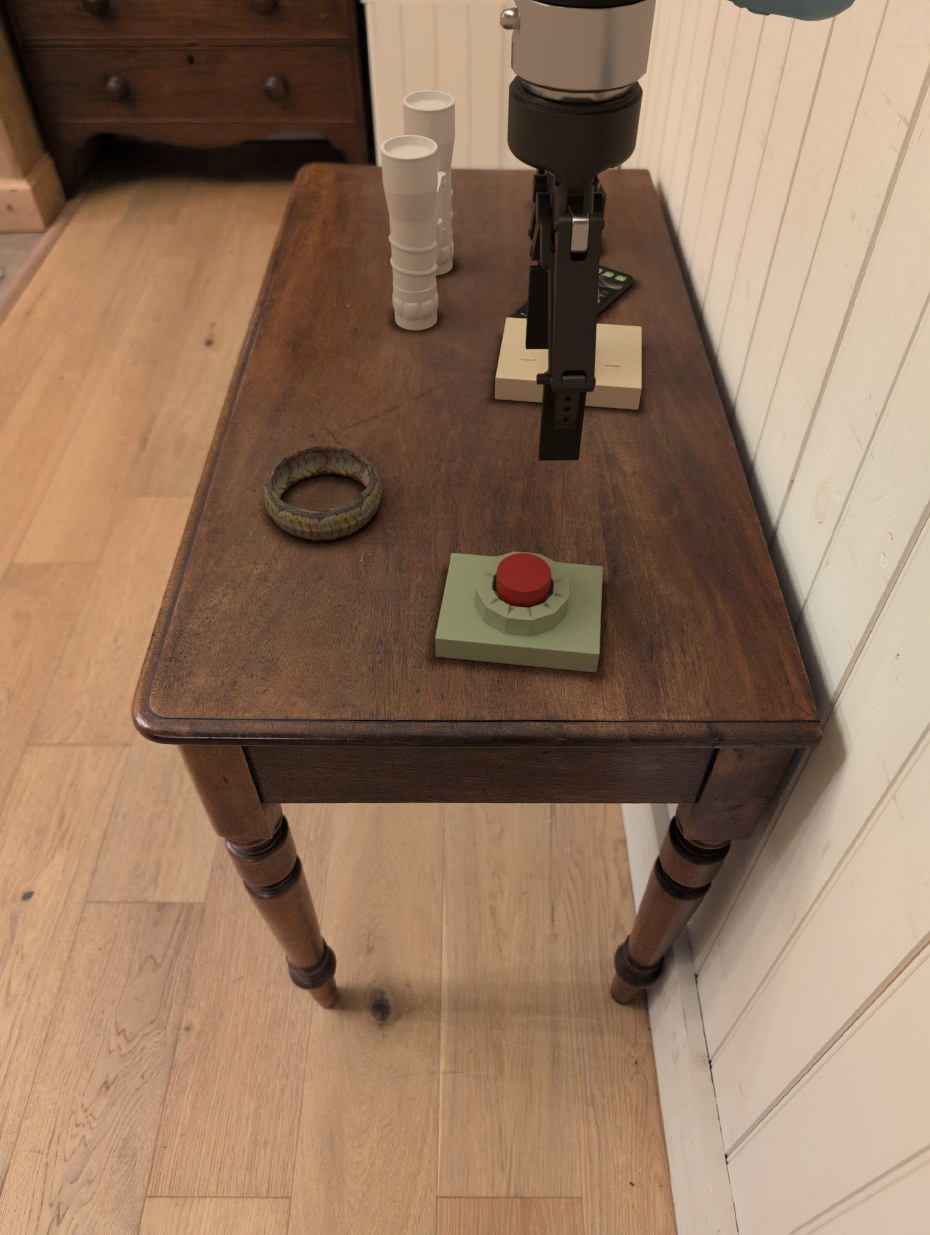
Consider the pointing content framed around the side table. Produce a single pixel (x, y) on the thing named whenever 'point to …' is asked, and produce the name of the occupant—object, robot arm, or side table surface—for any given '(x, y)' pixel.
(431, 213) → the binoculars
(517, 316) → the smartphone
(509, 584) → the button
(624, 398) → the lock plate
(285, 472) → the decorative ring
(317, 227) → the side table surface
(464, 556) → the box
